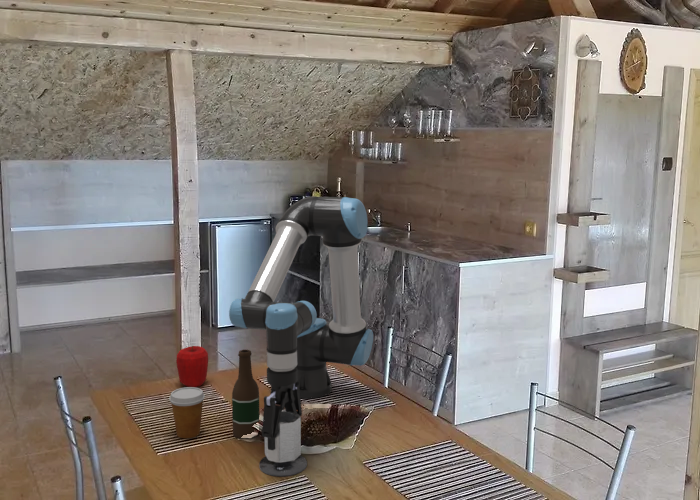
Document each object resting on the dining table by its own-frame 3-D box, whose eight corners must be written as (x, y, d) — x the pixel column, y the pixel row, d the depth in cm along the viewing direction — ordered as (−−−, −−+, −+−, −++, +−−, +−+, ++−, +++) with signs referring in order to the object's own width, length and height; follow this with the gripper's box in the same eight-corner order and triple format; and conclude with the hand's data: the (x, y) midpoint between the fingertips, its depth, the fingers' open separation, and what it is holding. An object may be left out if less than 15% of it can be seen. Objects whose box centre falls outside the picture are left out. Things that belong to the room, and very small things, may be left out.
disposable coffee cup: (197, 442, 191) (196, 400, 189) (164, 439, 192) (163, 397, 190) (211, 428, 200) (210, 387, 198) (179, 425, 202) (178, 385, 200)
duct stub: (294, 450, 186) (294, 419, 185) (315, 469, 176) (315, 436, 174) (251, 461, 180) (251, 429, 179) (271, 481, 170) (270, 447, 169)
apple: (184, 378, 239) (182, 340, 237) (213, 380, 238) (212, 341, 235) (172, 390, 229) (170, 349, 226) (202, 391, 227) (201, 351, 225)
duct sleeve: (305, 450, 180) (305, 413, 178) (289, 464, 172) (288, 425, 170) (276, 444, 183) (276, 407, 181) (259, 457, 175) (258, 419, 174)
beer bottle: (265, 430, 199) (264, 348, 195) (252, 441, 191) (251, 356, 187) (240, 426, 201) (238, 345, 197) (227, 437, 194) (225, 353, 190)
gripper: (290, 352, 185) (290, 434, 189) (245, 377, 166) (247, 468, 170) (315, 356, 182) (315, 439, 185) (272, 382, 163) (274, 474, 166)
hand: (282, 453), depth 177 cm, fingers closed on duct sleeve, 8 cm apart
